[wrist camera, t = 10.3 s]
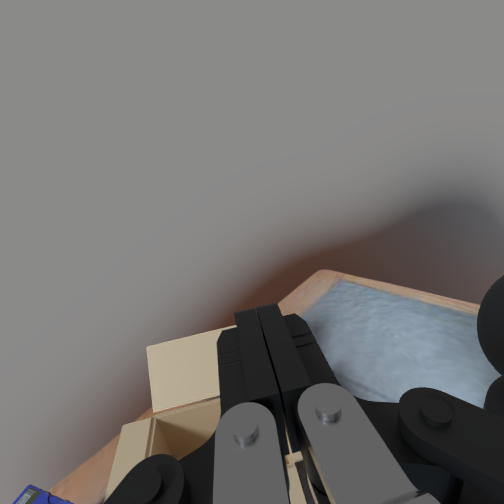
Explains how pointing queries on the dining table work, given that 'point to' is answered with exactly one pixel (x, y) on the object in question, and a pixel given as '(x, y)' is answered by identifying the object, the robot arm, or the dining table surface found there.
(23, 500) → the ink cartridge box
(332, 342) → the dining table surface
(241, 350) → the robot arm
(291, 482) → the carton
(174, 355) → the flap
